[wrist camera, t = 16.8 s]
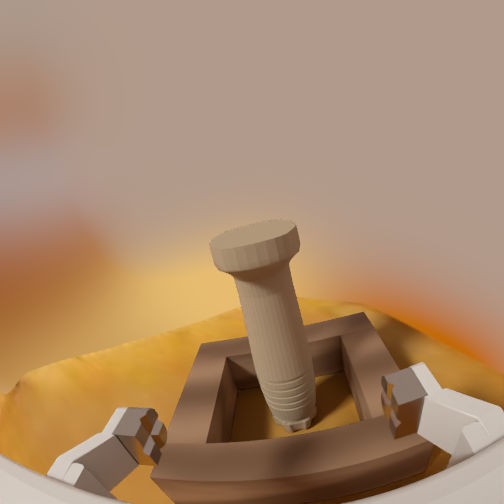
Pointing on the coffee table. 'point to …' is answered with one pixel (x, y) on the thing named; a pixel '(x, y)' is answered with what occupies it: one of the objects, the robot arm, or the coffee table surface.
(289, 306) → the beige bolt
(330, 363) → the collar
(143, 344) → the coffee table surface
